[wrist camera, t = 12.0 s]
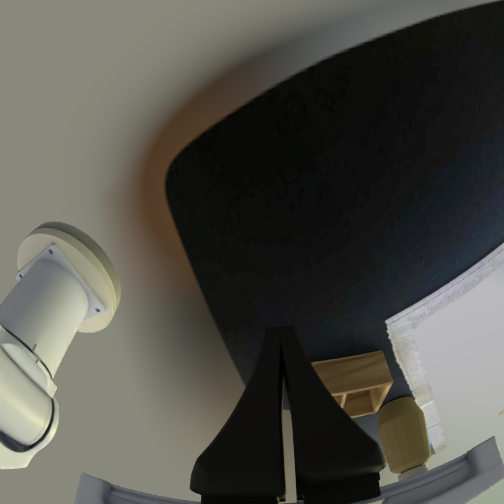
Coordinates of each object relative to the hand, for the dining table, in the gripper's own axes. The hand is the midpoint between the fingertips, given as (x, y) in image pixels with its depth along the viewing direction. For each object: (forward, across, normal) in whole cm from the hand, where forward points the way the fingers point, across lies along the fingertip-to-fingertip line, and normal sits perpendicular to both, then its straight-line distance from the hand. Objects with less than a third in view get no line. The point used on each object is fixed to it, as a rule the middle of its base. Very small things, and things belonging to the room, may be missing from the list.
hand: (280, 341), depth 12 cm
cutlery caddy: (+9, -6, +20) cm, 23 cm away
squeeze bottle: (+10, -18, +33) cm, 39 cm away
